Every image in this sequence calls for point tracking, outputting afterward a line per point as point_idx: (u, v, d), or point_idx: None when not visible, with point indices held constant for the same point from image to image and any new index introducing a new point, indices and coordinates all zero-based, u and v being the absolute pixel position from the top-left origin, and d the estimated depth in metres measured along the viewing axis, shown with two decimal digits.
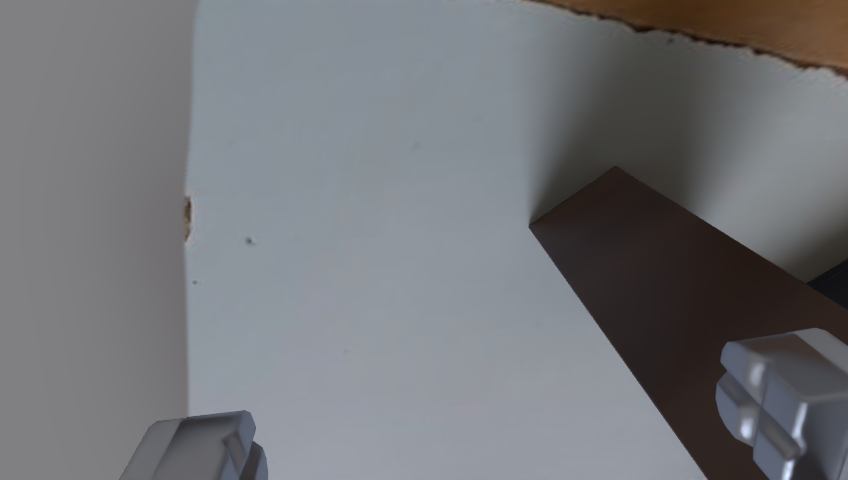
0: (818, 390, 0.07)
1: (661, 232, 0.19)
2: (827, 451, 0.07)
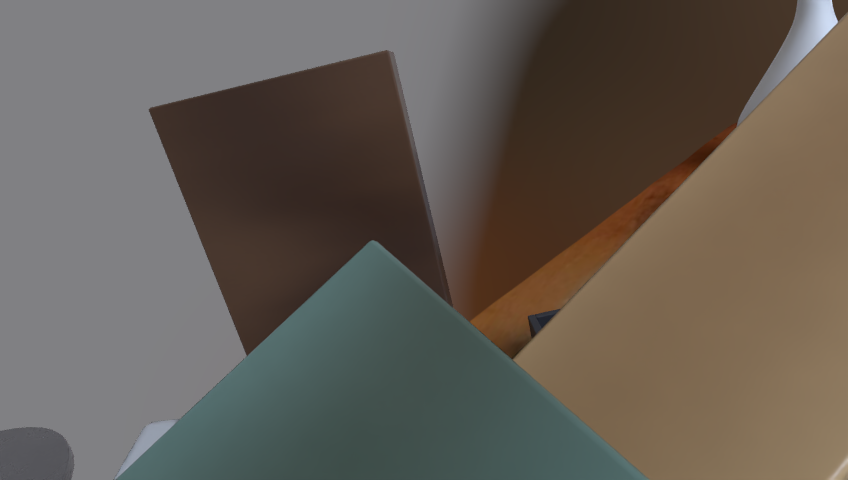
0: None
1: None
2: None
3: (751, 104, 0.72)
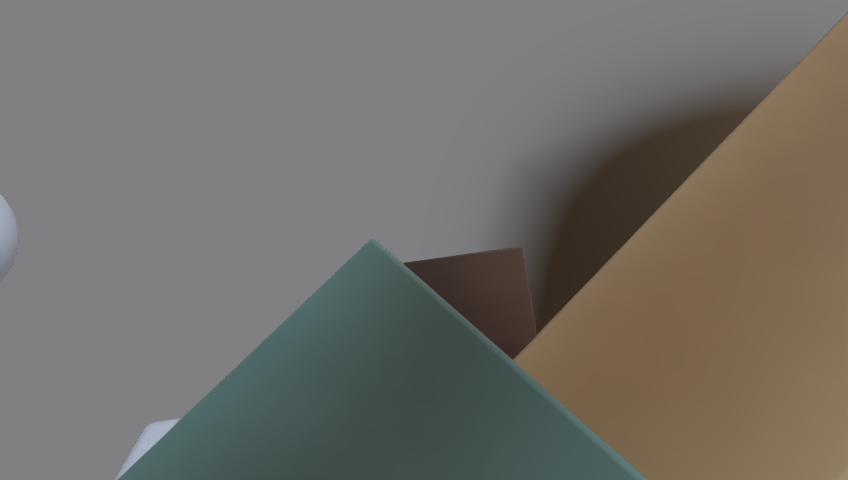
0: None
1: None
2: None
3: None
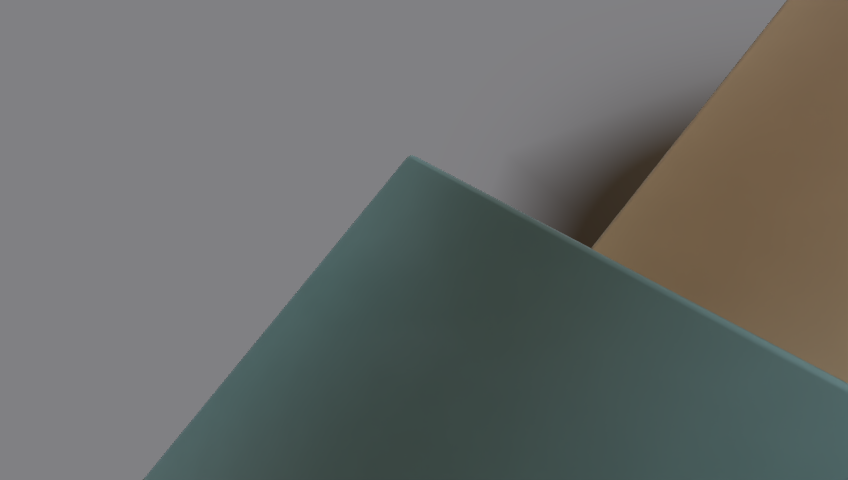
0: None
1: None
2: None
3: None
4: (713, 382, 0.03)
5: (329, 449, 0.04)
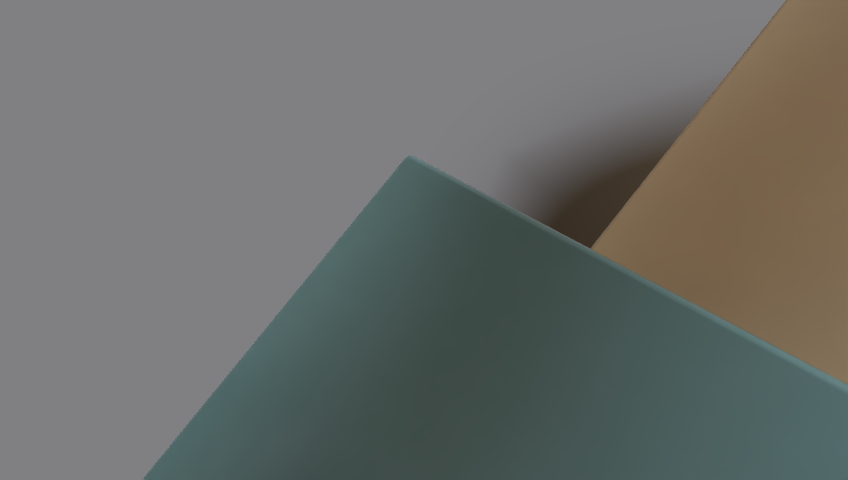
0: None
1: None
2: None
3: None
4: (712, 383, 0.03)
5: (326, 448, 0.04)
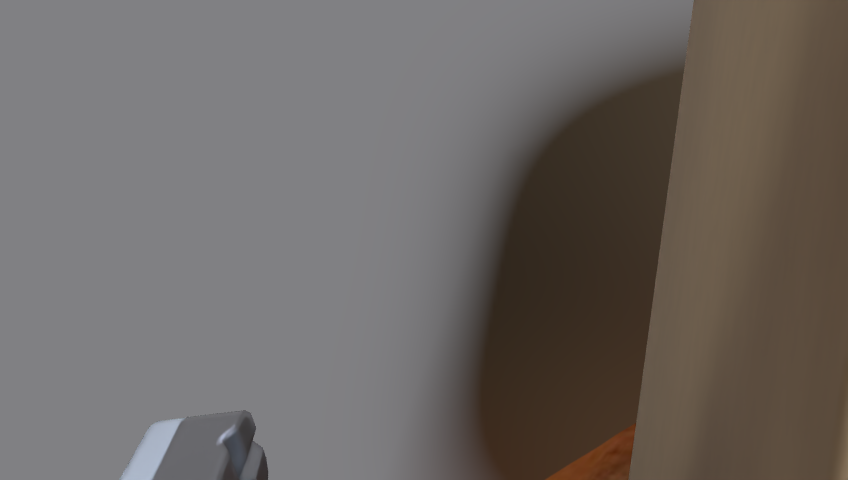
0: None
1: None
2: None
3: None
4: None
5: None
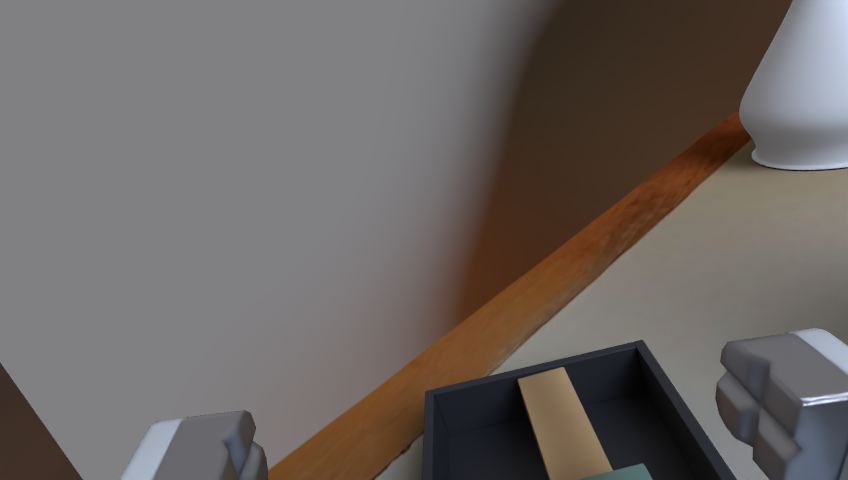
0: (818, 390, 0.07)
1: None
2: (828, 451, 0.07)
3: (753, 84, 0.59)
4: (608, 478, 0.22)
5: None
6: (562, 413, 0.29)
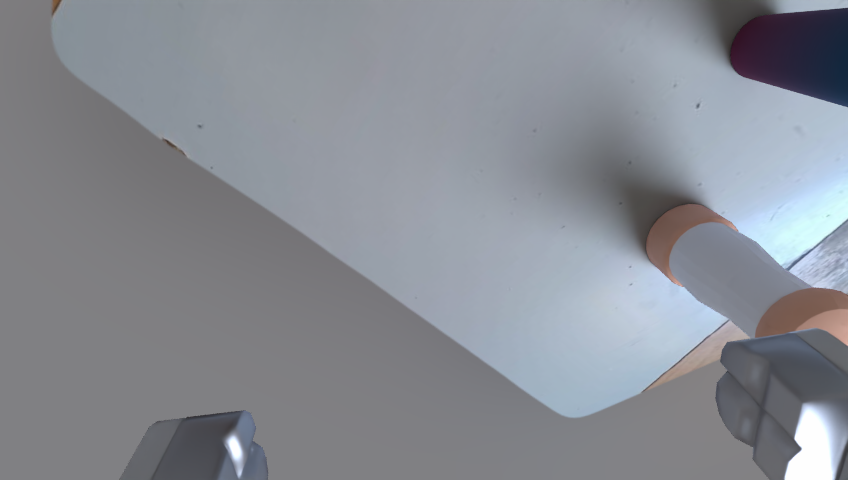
0: (818, 390, 0.07)
1: None
2: (827, 452, 0.07)
3: None
4: None
5: None
6: None
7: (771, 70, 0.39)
